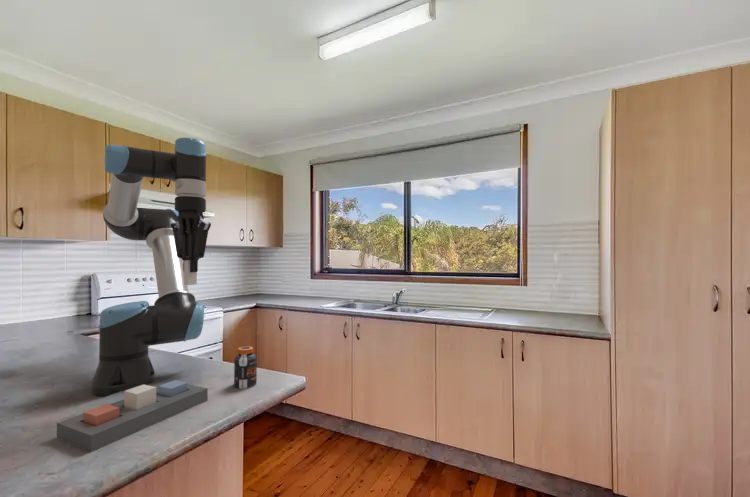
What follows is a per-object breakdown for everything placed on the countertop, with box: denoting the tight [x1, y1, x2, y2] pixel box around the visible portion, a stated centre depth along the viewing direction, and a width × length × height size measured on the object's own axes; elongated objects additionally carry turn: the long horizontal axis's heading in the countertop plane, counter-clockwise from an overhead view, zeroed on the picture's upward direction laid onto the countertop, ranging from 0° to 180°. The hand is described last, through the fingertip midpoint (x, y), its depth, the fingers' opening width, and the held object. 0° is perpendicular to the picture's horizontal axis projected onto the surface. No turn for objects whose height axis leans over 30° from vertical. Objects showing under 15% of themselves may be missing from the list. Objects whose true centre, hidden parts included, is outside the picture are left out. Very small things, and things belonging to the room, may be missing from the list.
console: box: [56, 383, 209, 453], centre depth 83 cm, size 12×26×4 cm, turn 155°
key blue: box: [158, 379, 188, 397], centre depth 91 cm, size 4×4×4 cm
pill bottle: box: [233, 345, 258, 390], centre depth 104 cm, size 6×6×11 cm
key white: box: [123, 384, 157, 411], centre depth 83 cm, size 4×4×4 cm
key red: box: [82, 403, 119, 427], centre depth 76 cm, size 4×4×4 cm
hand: (190, 284), depth 100 cm, fingers closed
